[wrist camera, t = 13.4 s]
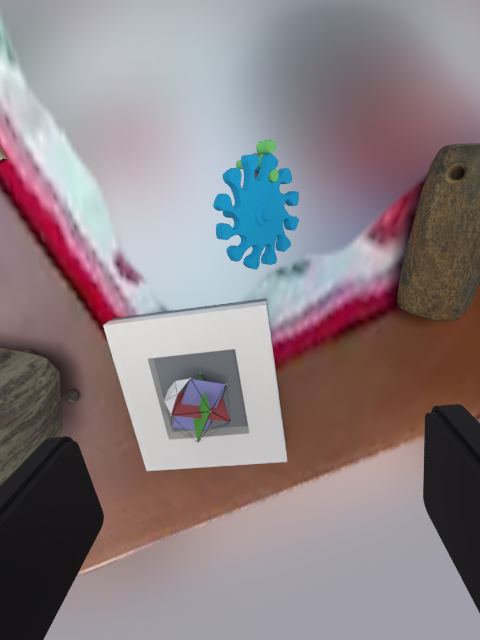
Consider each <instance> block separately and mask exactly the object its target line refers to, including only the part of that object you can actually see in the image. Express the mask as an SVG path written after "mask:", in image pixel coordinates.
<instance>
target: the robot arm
mask: <svg viewBox="0 0 480 640" xmlns="http://www.w3.org/2000/svg"><path fill="white" fill-rule="evenodd" d="M424 446H425V447H424V487H423V489H424V490H423V498H424V504H425V507H426V510H427V513H428V515H429V516H430V519H431V520H432V522H433V524H434V526H435V528H436V530H437V532H438V534H439V536H440V538H441V540H442V542H443V543H444V545H445V547H446V549H447V551H448V553H449V555H450V557H451V559H452V561H453V563H454V565H455V566H456V568H457V570H458V572H459V574H460V576H461V578H462V580H463V582H464V584H465V585H466V587H467V589H468V591H469V593H470V595H471V597H472V599H473V601H474V603H475V605H476V607H477V609H478V610H479V612H480V423H479V422H478V421H477V420H476V419H475V418H474V417H473V416H472V415H471V414H470V413H469V412H468V411H467V410H466V409H465V408H464V407H463V406H462V405H459V404H456V405H444V406H435V407H433V409H432V413H427V414H426V415H425V444H424ZM103 519H104V515H103V511H102V508H101V505H100V503H99V500H98V497H97V494H96V492H95V489H94V486H93V483H92V481H91V478H90V475H89V473H88V470H87V467H86V464H85V462H84V459H83V456H82V454H81V451H80V448H79V445H78V444H77V443H76V442H75V441H73V439H72V438H70V437H67V436H66V437H54V438H48V439H46V440H44V441H43V442H42V443H41V444H40V445H39V446H38V447H37V448H36V449H35V450H34V452H33V453H32V454H31V455H30V456H29V457H28V458H27V459H26V460H25V461H24V462H23V463H22V464H21V465H20V466H19V467H18V468H17V469H16V470H15V471H14V472H13V473H12V474H11V476H10V477H9V478H8V479H7V480H6V481H5V482H4V483H3V484H2V485H1V486H0V640H43V639H44V637H45V635H46V634H47V631H48V630H49V628H50V626H51V624H52V622H53V620H54V618H55V616H56V614H57V612H58V610H59V609H60V606H61V605H62V603H63V601H64V599H65V597H66V595H67V593H68V591H69V589H70V587H71V585H72V583H73V582H74V580H75V578H76V576H77V574H78V572H79V570H80V568H81V566H82V564H83V562H84V560H85V558H86V557H87V555H88V553H89V551H90V549H91V547H92V545H93V543H94V541H95V539H96V537H97V535H98V533H99V531H100V530H101V527H102V525H103Z"/></svg>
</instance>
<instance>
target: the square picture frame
mask: <svg viewBox="0 0 480 640" xmlns="http://www.w3.org/2000/svg"><path fill="white" fill-rule="evenodd" d="M103 327H104V330H105V333H106V337H107V340H108V343H109V347H110V350H111V353H112V357H113V360H114V363H115V367H116V370H117V374H118V377H119V380H120V384H121V387H122V390H123V394H124V397H125V400H126V404H127V407H128V410H129V414H130V417H131V420H132V424H133V427H134V430H135V434H136V437H137V440H138V444H139V447H140V451H141V454H142V457H143V461H144V464H145V467H146V471H156V470H171V469H186V468H201V467H216V466H231V465H247V464H262V463H277V462H287V451H286V442H285V435H284V427H283V420H282V412H281V405H280V397H279V390H278V382H277V374H276V367H275V359H274V352H273V344H272V337H271V329H270V322H269V314H268V307H267V299H260V300H252V301H244V302H237V303H229V304H221V305H213V306H205V307H198V308H190V309H182V310H174V311H166V312H158V313H150V314H143V315H135V316H127V317H119V318H113V319H111V320H110V321H109V322H107V323H106V324H104V325H103ZM200 373H201V375H202V374H203V375H202V376H203V377H204V378H205V379H206V380H207V381H210V382H216V383H223V384H224V383H225V384H226V383H227V387H226V389H225V392H224V391H223V393H224V396H223V393H222V396H221V397H223V400H224V403H225V406H226V409H227V412H228V415H229V418H230V419H231V422H232V423H229V422H225V421H216V420H212V422H211V424H210V426H209V428H208V430H209V431H207V432H206V431H203V432H202V435H201V437H202V436H203V435H204V436H203V437H202V438H201V437H200V438H201V440H200V439H199V440H200V442H198V444H197V442H196V441H197V437H196V432H195V430H190V429H180V428H171V427H172V426H173V424H174V421H175V419H174V418H176V416H173V417H174V418H173V417H172V416H170V415H171V414H170V412H169V410H168V408H167V406H166V405H165V403H164V400H165V397H166V394H167V392H168V391H167V390H169V388H170V387H171V386H172V384H173V383H174V382H175V381H177V380H183V379H190V378H192V377H193V378H192V379H198V377H199V375H198V374H200ZM196 375H197V376H196ZM204 375H205V376H204ZM194 376H195V377H194ZM202 376H201V379H202V380H204V381H206V380H205V379H204V378H203V377H202ZM209 377H210V378H209ZM214 379H215V380H214ZM219 381H220V382H219ZM188 382H189V381H188ZM188 382H187V383H188ZM187 383H186V385H187ZM188 384H189V383H188ZM186 385H185V386H184V387H183V388H182V390H181V391H180V392H183V391H184V389H185V387H186ZM187 386H188V385H187ZM186 389H187V387H186ZM186 389H185V391H184V392H183V393H185V392H186ZM227 393H228V396H227ZM228 402H229V404H228ZM229 410H230V412H229ZM171 417H172V423H171ZM226 423H229V424H226ZM224 424H225V425H226V426H225V425H224ZM221 425H222V426H221ZM218 426H219V427H218ZM215 427H217V428H215ZM213 428H214V429H213ZM220 428H221V429H220ZM175 429H176V430H175ZM210 429H211V430H210ZM217 430H218V431H217ZM215 431H216V432H215ZM180 432H181V433H180ZM205 432H206V433H205ZM204 433H205V434H204ZM212 433H213V434H212ZM189 434H190V435H191V436H192V437H193V438H194V439H195V440H196V441H195V440H194V439H193V438H192V437H191V436H190V435H189ZM185 435H186V436H185ZM209 435H210V436H209ZM187 436H188V437H187ZM207 436H208V437H207ZM190 438H191V439H190ZM204 438H205V439H204ZM192 439H193V440H192Z"/></svg>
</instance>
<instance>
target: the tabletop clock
mask: <svg viewBox="0 0 480 640" xmlns="http://www.w3.org/2000/svg"><path fill="white" fill-rule="evenodd" d="M64 399H66V401H67V402H69V403H75V402H76V401H77V400H78V399H79V393H78V392H77V391H75V390H71V391H68V392H67V393H66V395H61V390H60V372H59V371H58V370H57V369H56V368H55V367H54V366H53V365H52V363H51V362H50V361H49V360H48V359H46V358H44V357H42V356H39V355H36V352H35V351H34V350H32V349H27V350H24V351H23V352H20V351H15V350H10V349H5V348H0V486H1V485H2V484H3V483H4V482H5V481H6V480H7V479H8V478H9V477H10V476H11V474H12V473H13V472H14V471H15V470H16V469H17V468H18V467H19V466H20V465H21V464H22V463H23V462H24V461H25V460H26V459H27V458H28V457H29V456H30V455H31V454H32V453H33V452H34V450H35V449H36V448H37V447H38V446H39V445H40V444H41V443H42V442H43V441H44V440H46V439H48V438H54V437H59V436H60V434H61V429H62V413H61V400H64Z"/></svg>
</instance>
